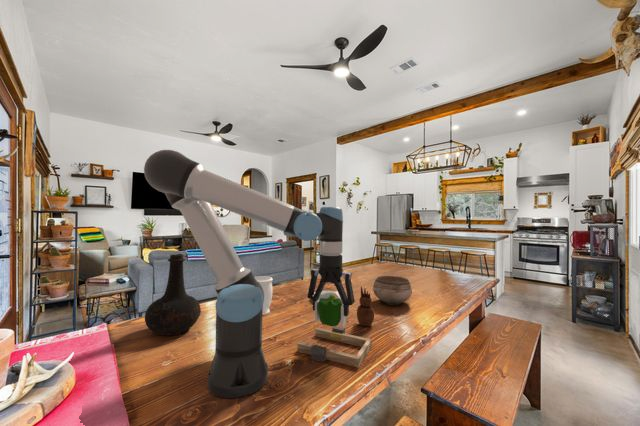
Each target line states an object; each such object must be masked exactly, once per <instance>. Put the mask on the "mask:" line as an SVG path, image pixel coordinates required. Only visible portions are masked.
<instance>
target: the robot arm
mask: <svg viewBox="0 0 640 426" xmlns="http://www.w3.org/2000/svg"><path fill="white" fill-rule="evenodd" d="M143 173H144V178H145V180H146V181H147V183H148V184H149V185H150V187H152V188H153V189H155V190H157V191H158V192H161V193H163V194H164V195H165V196H166V198H167V199H166V200H167V201H168V202H169V204H170V206H171V208H173V209H175V210H178V211H180V213H181V215H182V216H183V218H184V220H185V223H186V224H187V227H188V228H189V230H190V232H191V234H192V236H193V238H194V240H195V241H196V243H197V246H198V247H199V249H200V251H201V253H202V255H203V257H204V259H205V260H206V263H207V265H208V266H209V269H210V270H211V272H212V274H213V276H214V278H215V280H216V285H215V288H214V289H215V291H216V293H217V296H216V301H215V350H214V351H215V353H214V356H213V359H212V362H211V366H210V369H209V370H208V372H207V373H208V374H207V378H206V379H207V380H206V382H207V383H206V387H207V390H208V389H209V390H208V391H209V392H210V393H211V394H212V395H213V394H214V396H215V395H216V396H215V397H218V396H219V398H222V397H223V399H237V398H243V397H247V396H249V395H251V394H253V393H256V392H258V391H259V390H260V389H262V388H263V387H264V386H265V385H266V383H267V381H268V378H269V367H268V364H267V361H266V359H265V358H266V357H265V355H264V351H263V347H262V346H263V344H262V343H263V341H262V340H263V315H262V313H263V302H264V291H263V288H262V286H261V285H260V284H259V282H258V281H257V280H256V279H255V277H256V276H254V273H253V272H252V270H251V269H250V268H247V267H244V266H243V265H244V264H243V263H242V262H241V259H240V257H239V256H238V254H237V251H236V250H235V248H234V245H233V244H232V242H231V240H230V238H229V236H228V234H227V233H226V230H225V228H224V226H223V225H222V221H221V220H220V219H219V217H218V215H217V213H216V211H215V208H214V206H216V207H218V208H222V209H224V210H227V211H229V212H232V213H235V214H236V215H239V216H242V217H244V218H247V219H250V220H253V221H255V222H257V223H261V224H263V225H265V226H269V227H271V228H274V229H276V230H278V231H282V232H283V235H284V236H285V237H287V236H288V237H295V238H296V237H297V238H298V239H299V240H301V241H304V242H309V241H310V242H311V241H314V240H316V239H317V238H318V237H319V254H320V255H319V259H318V260H319V263H318V264H319V268H313V269H311V270H310V277H311V278H310V282H309V285H308V286H309V288H308V292H307V298H308V299H309V300H312V310H313V311H314V322H315V323H317V322H319V321H320V318H319V314H318V303H319V300H318V299H319V296H320V294H321V292H322V291H324V288H325V285H326V283H327V284H328V283H330V284H334V287H335V288H336V291H338V293H339V296H340V298H341V300H342V303H343V305H342V306H341V320H340V327H342V328H345V326H346V325H347V317H348V316H349V314H350V313H349V312H350V306H352V305H353V304H355V302H356V300H355V295H354V294H355V293H354V289H353V284H352V283H353V282H352V275H353V274H352V273H351V272H346V271H344V269H343V255H342V254H343V233H344V232H343V225H344V215H343V214H344V213H343V209H342V207H339V206H321V207H320V209H319V212H311V211H307V210H304V209H301V208H298V207H296V206H294V205H292V204H289V203H287V202H285V201H282V200H280V199H277V198H274V197H272V196H270V195H267V194H265V193H263V192H260V191H258V190H255V189H253V188H250V187H248V186H245V185H243V184H240V183H238V182H235V181H232V180H230V179H228V178H226V177H223V176H220V175H218V174H216V173H213V172H211V171H209V170H205V168H204V165H203V164H201V163H199V162H197V161H194V160H193V159H190V158H188V157H187V156H186V155H184V154H183V153H181V152H179V151H176V150H174V149H162V150H158V151H155V152H154V153H151V155H150V156H149V157H148V158H147V159H146V161H145V163H144V166H143ZM318 276H320V277H321V278H320V280H319V283H318V286H316V285H317V282H318ZM342 277H343V279H344V285H345V288H344V286H343V282H342ZM316 287H317V288H316ZM345 290H346V291H345ZM314 292H315V294H314Z"/></svg>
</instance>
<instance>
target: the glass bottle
mask: <svg viewBox="0 0 640 426" xmlns="http://www.w3.org/2000/svg"><path fill="white" fill-rule="evenodd" d="M186 260H187V259H186V258H184V254H183V253H177V254H170V255H169V258H168V259H167V262H169V270H168V277H167V284H166V287H165V288H166V289H165V291H164V294H163V295H162V296H161V297H160V298H157V299H156V300H155V301H152V303H150V305H149V306H148V307H147V309H146V311H145V314H144V323H145V326H146V328H147V329H149V330H150V331H151V332H152V333H154V334H157V335H159V336H160V335H161V336H175V335H180V334H182V333H185V332H187V331H188V330H190V329H191V328H192V327H193V326H194V325H195V324H196V323H197V321H198V320H199V317H200V316H201V312H202V309H201V304H200V302H199V301H198V299H197V298H195V297H193V296H192V295H189V294H187V291H186V288H185V281H184V280H185V277H184V276H185V275H184V261H186Z"/></svg>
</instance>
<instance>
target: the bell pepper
mask: <svg viewBox="0 0 640 426" xmlns="http://www.w3.org/2000/svg"><path fill="white" fill-rule="evenodd" d="M342 305H343V304H342V301H341V299H340V298H338V297H337V298H336V295H335V296H334V295H330V297H329V298H327V299H325V298H320V300H319V303H318V314H319V318H320V320H319V321H320V322H321V324H322V325H324V326H327V327H328V326H329V327H334V326H337V327H338V325H339V324H340V323H341V306H342Z"/></svg>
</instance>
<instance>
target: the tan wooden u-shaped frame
mask: <svg viewBox="0 0 640 426" xmlns="http://www.w3.org/2000/svg"><path fill="white" fill-rule="evenodd" d="M314 331H315V332H314V333H315V334H314V337H318V338H322V339H327V340H331V341H333V342H340V343H342V344H348V345H353V346H355V347H360V350H359V351H358V353H357V354H356V355H355V354H351V353H347V352H343V351H339V350H335V349H330V348H327V347H325V346H322V345H318V344H312V343H308V342H303V341H299V342H297V347H296V348H297V350H296V351H297V353H298V352H299V353H303V354H305V355H308V356H309V355H310V357H311V358H310V359H311V360H314V361H318V362H321V363H324V362H325V361H326V360H328V361H332V362H334V363H335V362H336V363H338V364H344V365H347V366H349V367H354V368H357V369H359V368H360V366H361V365H362V363H363V361H364V360H365V359H366V356H367V355H368V353H369V352H370V351H371V348H372V344H373V343H372V341H373V340H372V339H371V338H366V337H362V336H357V335H354V334H353V335H352V334H349V333H346V328H345V327H341V326H338V325H337V326H332V329H331V330H330V329H326V328H321V327H316V328H315V330H314Z"/></svg>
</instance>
